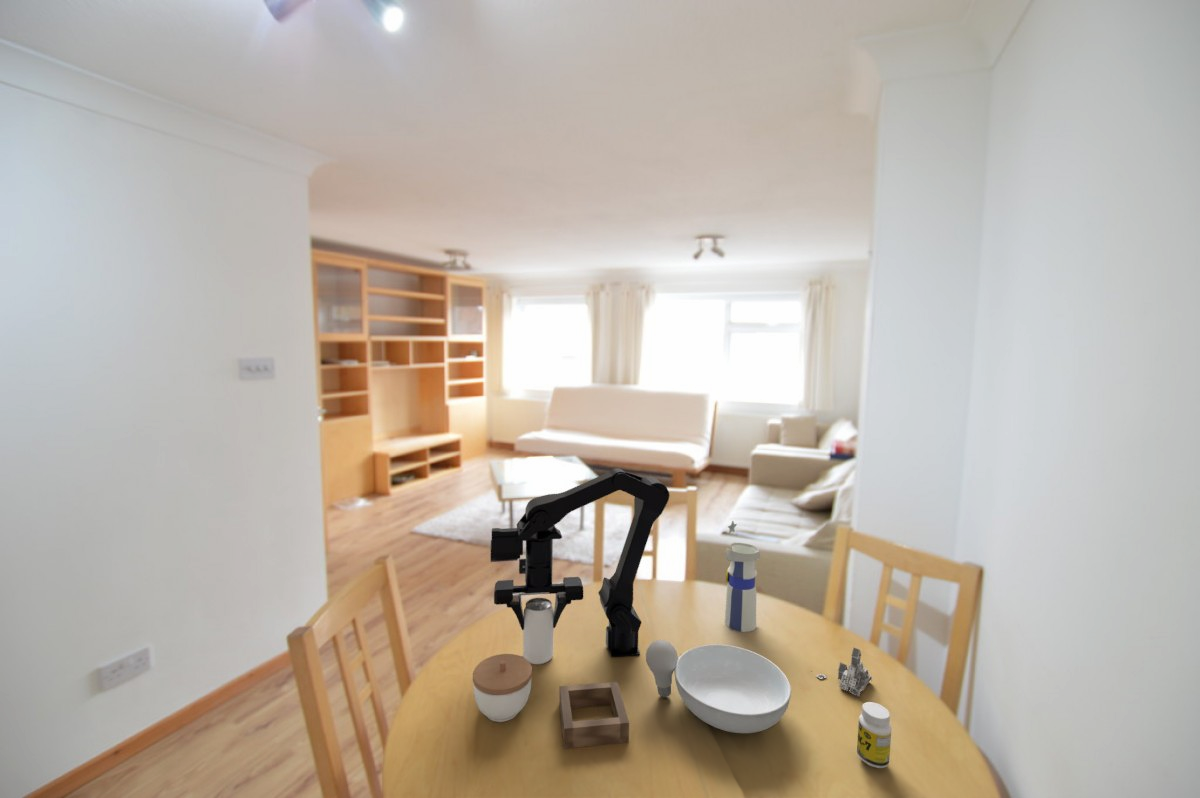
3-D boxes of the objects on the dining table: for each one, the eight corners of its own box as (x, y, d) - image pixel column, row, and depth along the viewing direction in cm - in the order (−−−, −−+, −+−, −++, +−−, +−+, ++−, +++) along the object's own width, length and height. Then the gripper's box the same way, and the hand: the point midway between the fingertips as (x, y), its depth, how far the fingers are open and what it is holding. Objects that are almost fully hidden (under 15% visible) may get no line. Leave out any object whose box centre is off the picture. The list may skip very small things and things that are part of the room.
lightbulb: (683, 688, 100) (678, 634, 99) (677, 709, 94) (673, 653, 93) (653, 684, 102) (648, 632, 101) (645, 704, 96) (640, 649, 95)
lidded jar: (532, 728, 89) (533, 677, 88) (470, 734, 87) (470, 683, 86) (531, 688, 99) (531, 643, 99) (475, 693, 98) (474, 647, 97)
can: (555, 649, 113) (556, 597, 112) (549, 666, 106) (550, 612, 105) (527, 647, 114) (527, 595, 112) (519, 664, 107) (520, 610, 106)
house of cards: (832, 659, 112) (834, 626, 111) (875, 678, 105) (877, 643, 105) (814, 676, 105) (816, 641, 105) (858, 697, 99) (861, 660, 98)
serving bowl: (789, 768, 81) (791, 728, 81) (662, 732, 89) (663, 695, 88) (789, 689, 101) (790, 656, 100) (684, 665, 108) (685, 634, 107)
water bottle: (716, 625, 124) (720, 526, 122) (729, 611, 131) (733, 517, 129) (750, 636, 119) (754, 533, 117) (761, 621, 126) (765, 524, 124)
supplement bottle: (850, 747, 86) (853, 700, 85) (877, 745, 86) (880, 699, 86) (867, 770, 81) (871, 720, 80) (895, 768, 82) (899, 719, 81)
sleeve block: (616, 698, 97) (617, 681, 97) (628, 742, 86) (629, 722, 86) (559, 703, 95) (559, 686, 95) (564, 748, 84) (564, 728, 84)
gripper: (578, 542, 117) (577, 607, 119) (496, 545, 115) (496, 612, 116) (584, 562, 107) (583, 632, 108) (493, 566, 104) (493, 638, 105)
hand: (538, 628), depth 109 cm, fingers closed on can, 6 cm apart
